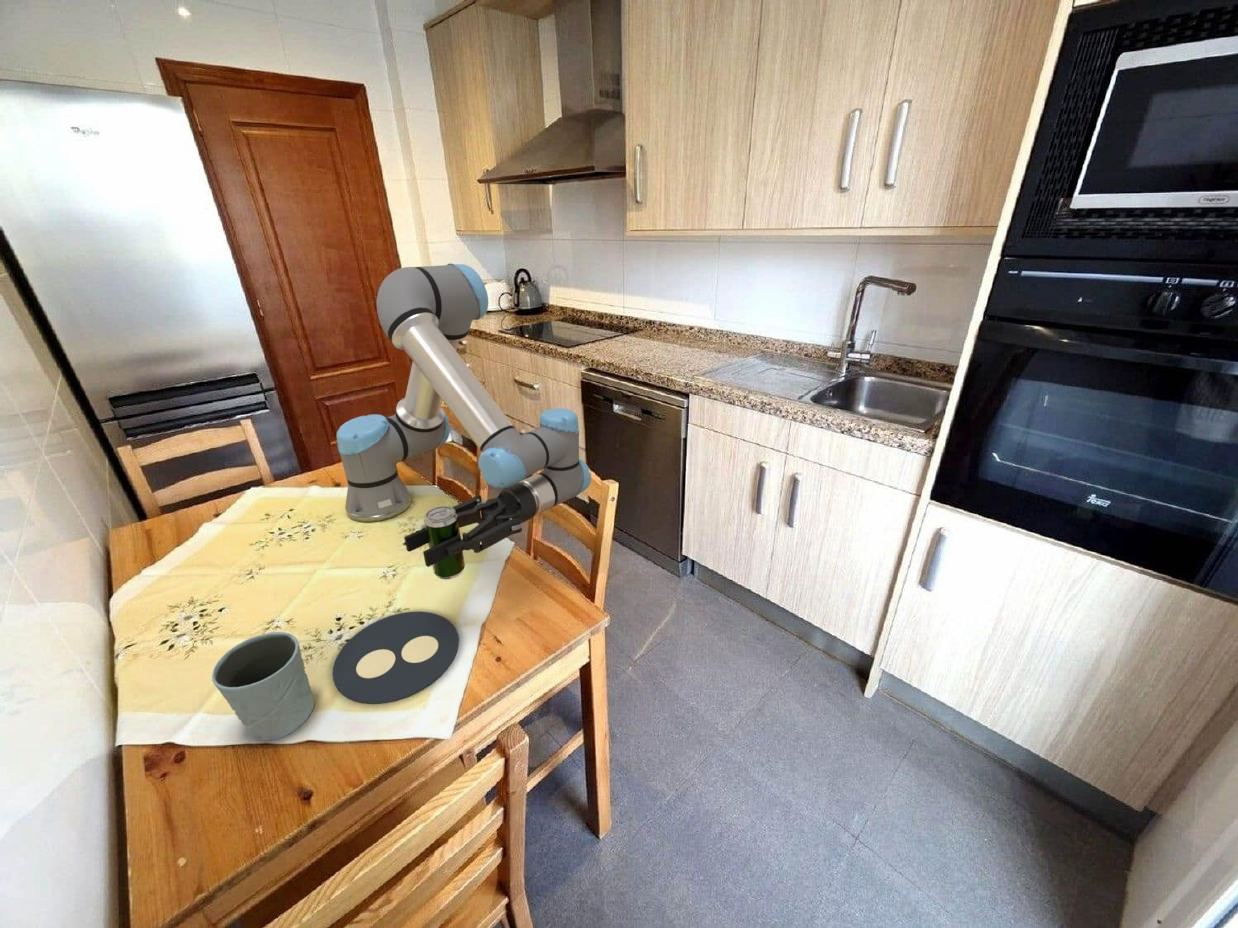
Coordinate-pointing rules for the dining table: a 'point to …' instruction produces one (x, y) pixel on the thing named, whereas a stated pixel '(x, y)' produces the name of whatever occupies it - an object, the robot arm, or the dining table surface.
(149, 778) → the dining table surface
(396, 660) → the spotted mat
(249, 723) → the gray plant pot
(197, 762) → the dining table surface
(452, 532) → the beer can
